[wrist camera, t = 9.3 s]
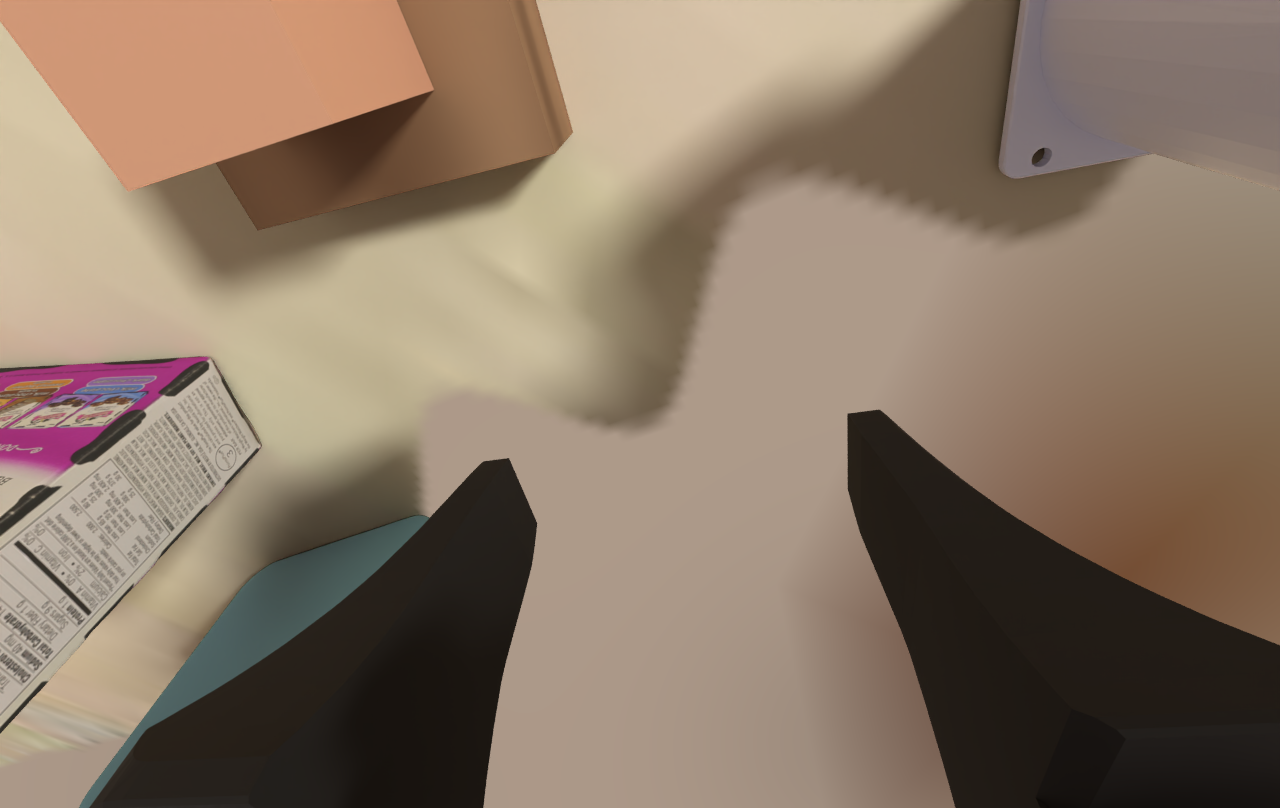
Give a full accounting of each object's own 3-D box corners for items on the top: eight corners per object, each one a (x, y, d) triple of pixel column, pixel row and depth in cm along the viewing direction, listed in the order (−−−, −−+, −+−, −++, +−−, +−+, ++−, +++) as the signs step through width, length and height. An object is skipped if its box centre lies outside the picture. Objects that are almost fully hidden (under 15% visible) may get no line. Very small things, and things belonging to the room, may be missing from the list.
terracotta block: (332, -155, 12) (142, -245, 7) (434, 89, 14) (333, 123, 10) (154, -76, 12) (-104, -118, 8) (279, 141, 15) (127, 191, 11)
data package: (315, 615, 32) (156, 882, 22) (255, 566, 30) (48, 839, 20) (492, 564, 29) (397, 852, 19) (439, 504, 27) (300, 795, 17)
